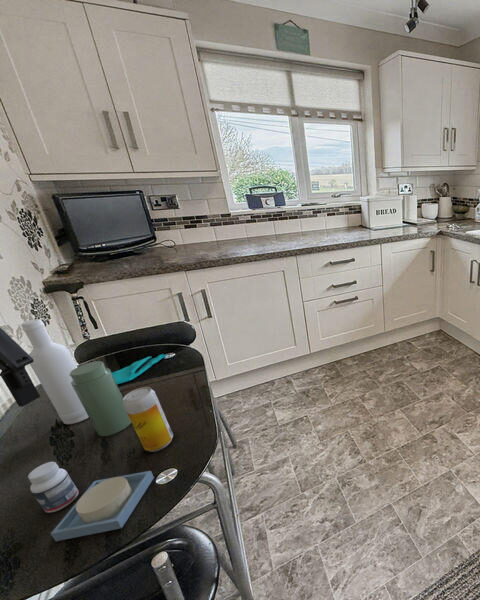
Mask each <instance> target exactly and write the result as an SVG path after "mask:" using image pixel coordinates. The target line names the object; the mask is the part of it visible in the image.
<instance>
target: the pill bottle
mask: <svg viewBox="0 0 480 600" xmlns="http://www.w3.org/2000/svg"><path fill="white" fill-rule="evenodd" d="M27 478H28V480H29V482H30V483H31V484H30V487H29V490H30V492H31V493H32V495H33V496H34V498H35V499H36V501H37V502H38V504H39V505H40V506H41V508H42V510H43V511H44V512H45V513H50V514H51V513H56V512H58V511H60V510H62V509H64V508H66V507H67V506H69V505H71V503H73V502H74V501H75V500H76V498H77V497H78V495H79V488H77V486H76V485H75V483H74V482H73V480H72V479H71V477H70V475H69V474H68V471H67V470H66V469H64V468H60V466H59V465H58V464H57V462H55V461H48V462H45V463H43V464H41V465H38V466H37V467H35V468H34V469H33V470H32V471H30V472H29V474H28V475H27Z"/></svg>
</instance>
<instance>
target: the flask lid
mask: <svg viewBox="0 0 480 600" xmlns="http://www.w3.org/2000/svg"><path fill="white" fill-rule="evenodd" d="M113 477H114V478H113ZM113 477H109V478H110V479H108V478H106V479H107V480H105V481H103V482H101V483H99V484H97V485H95V486H94V487H92V488H91V489H90V490H88V491H87V492H86V491H85V492H86V493H85V492H84V493H85V494H84V493H83V494H84V495H83V494H82V495H83V496H82V495H81V496H82V497H81V496H80V498H79V499H78V500H79V501H78V500H77V501H78V502H77V501H76V503H77V505H76V511H77V513H78V514H79V516H80V517H81V519H82V521H83V522H84V523H86V524H90V523H95V522H100V521H104V520H106V519H108V518H110V517H112V516H113V515H115V514H116V513H118V512H119V511H120V510H121V509H122V508H123V507H124V506H125V504H126V503H127V502H128V500H129V499H130V497H131V496H132V493H133V491H132V489H131V487H130V485H129V483H128V481H127V479H126V478H124V477H119V476H113Z"/></svg>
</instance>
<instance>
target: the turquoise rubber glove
mask: <svg viewBox="0 0 480 600" xmlns="http://www.w3.org/2000/svg"><path fill="white" fill-rule="evenodd" d="M166 356H167V354H163V353H162V354H159V355H158V356H156V357H154V358H152V356H147V357H144V358H143V359H139V360H137V361H134V362H133V363H131V364H130V365H127V366H126V367H123V368H121V369H118V370H115V371H114V372H111V373H112V375H113V377H114V379H115V381H116V383H117V385H119V384H123V383H127V382H130V381H132V380H134V379H136V378H137V377H138V376H141V375H142V374H143V373H144V372H146V371H147V370H148V369H150V368H151V367H152V366H153V365H155V364H157V363H158V362H160V360H162V359H163V358H165V357H166Z"/></svg>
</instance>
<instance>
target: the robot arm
mask: <svg viewBox="0 0 480 600" xmlns="http://www.w3.org/2000/svg"><path fill="white" fill-rule="evenodd" d="M29 354H30V353H28V352H26V350H24V349H23V347H21V345H19V344H18V343H17V342H16V341H15V340H14V339H13V338H12V337H11V336H10V335H9V334H8V333H7V332H6V331H5V330H4V329H3V328H2V327H1V326H0V377H1V379H2V380H3V382H4V384H5V386H6V387H7V389H8V390H9V393H10V394H11V396H12V397H13V399H14V401H15V402H16V404H17V406H18V407H19V408H20V407H21V408H24V407H26V405H29V404H30V403H32V402H34V401H35V400H37V399H38V398H41V395H40V393H39V392H38V391H39V390H38V389H37V388H36V386H35V384H34V383H33V380H32V379H31V377H30V375H29V373H28V371H27V370H26V366H28V365H30V363H32V362H34V360H33V358H32V357H31V356H30V355H29Z"/></svg>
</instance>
